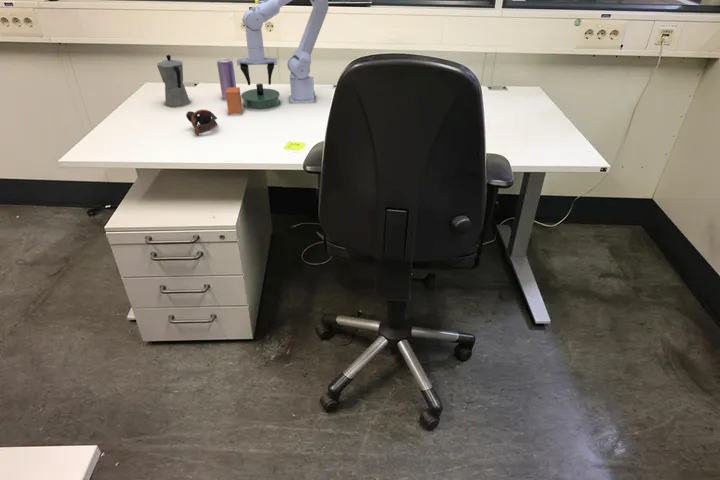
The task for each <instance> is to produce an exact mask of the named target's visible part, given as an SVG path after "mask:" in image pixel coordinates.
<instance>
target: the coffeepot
mask: <svg viewBox="0 0 720 480" xmlns="http://www.w3.org/2000/svg"><path fill="white" fill-rule="evenodd" d="M165 57H166V60H162V61H159V62H157V64H156V65H157V69H158V72H159V75H160V77H161V80H162V82H163V84H164V94H165V95H164V98H165V105H166V106H168V107H173V108H177V107H184V106H186V105H188V104H190V98H189V95H188V92H187V90H186V87H185V85H184V70H183V69H184V68H183V61H182V60H177V59H172V57H171V54H167V55H165Z"/></svg>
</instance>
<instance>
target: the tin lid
mask: <svg viewBox="0 0 720 480" xmlns="http://www.w3.org/2000/svg"><path fill="white" fill-rule="evenodd" d="M255 86H256V88H253V89H248V90H246V91H244V92H242V93H241V94H240V95H241V100H243V99H244V100H246V101H251V102H265V101H271V100H274V99H276V98H278V97H279V98H280V95H281V94H280V91H278V90H276V89H273V88H264V84H263V83H256V85H255Z"/></svg>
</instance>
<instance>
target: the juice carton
mask: <svg viewBox="0 0 720 480" xmlns="http://www.w3.org/2000/svg"><path fill="white" fill-rule="evenodd" d="M225 93H226V99H225V100H226V105H227V113H228V115H232V114H233V115H235V114H236V115H237V114H240V115H241V114H242V110H243V104H242V103H243V102H242V97H241V95H242V94H241V87H239V86H236V87H229V88H227V90H226V92H225Z"/></svg>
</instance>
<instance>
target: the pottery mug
mask: <svg viewBox="0 0 720 480" xmlns="http://www.w3.org/2000/svg"><path fill="white" fill-rule="evenodd" d="M185 116H186V119H187V120H188V121H189V122H190V123H191V125H192V127H193V128H194V130H193V133H194V135H196V136H200V134H203V133H207V132H210V131H211V130H213V129H214V128H215V127H216V126H219V124H218V122H217V119H218V117H217V115H215V114H214V113H213V112H212V111H210V110H208V109H199V110H198V109H197V110H196V111H187V112H186V114H185Z"/></svg>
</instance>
